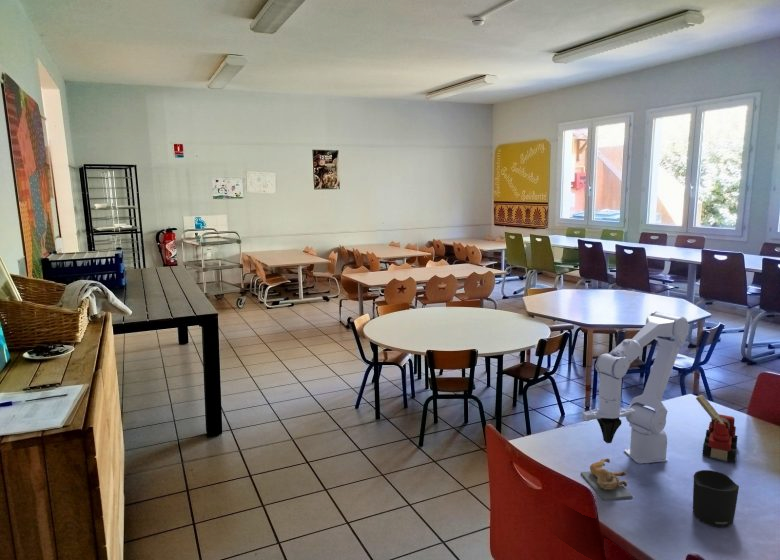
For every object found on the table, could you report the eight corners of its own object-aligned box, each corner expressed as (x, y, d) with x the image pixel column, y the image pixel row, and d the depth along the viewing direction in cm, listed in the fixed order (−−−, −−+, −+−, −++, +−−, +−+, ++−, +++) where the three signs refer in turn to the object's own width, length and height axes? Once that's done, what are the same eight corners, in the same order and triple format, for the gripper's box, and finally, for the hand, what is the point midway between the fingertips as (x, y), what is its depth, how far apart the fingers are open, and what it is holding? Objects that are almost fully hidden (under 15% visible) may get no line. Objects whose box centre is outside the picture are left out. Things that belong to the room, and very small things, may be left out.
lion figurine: (633, 471, 142) (601, 474, 141) (634, 491, 142) (602, 495, 140) (604, 455, 156) (575, 458, 155) (605, 474, 156) (576, 476, 155)
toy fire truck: (737, 445, 168) (742, 391, 165) (734, 467, 155) (740, 409, 152) (695, 436, 174) (700, 384, 171) (689, 456, 162) (694, 401, 159)
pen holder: (686, 518, 132) (689, 481, 131) (696, 501, 139) (699, 466, 137) (730, 534, 126) (734, 495, 124) (738, 515, 133) (742, 478, 131)
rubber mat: (607, 471, 154) (607, 469, 154) (632, 497, 141) (632, 495, 141) (580, 474, 153) (580, 472, 153) (603, 500, 140) (603, 498, 140)
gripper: (625, 389, 155) (623, 432, 157) (578, 393, 153) (576, 437, 155) (640, 398, 148) (637, 444, 150) (590, 402, 146) (588, 449, 149)
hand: (607, 441), depth 152 cm, fingers closed
